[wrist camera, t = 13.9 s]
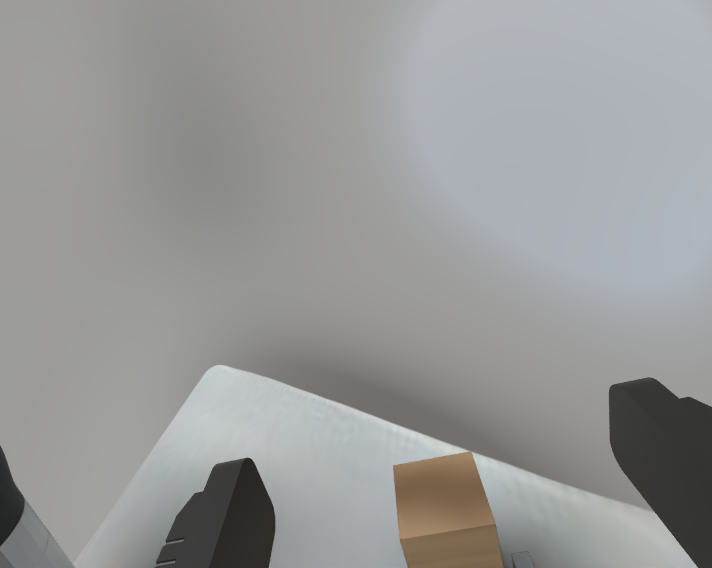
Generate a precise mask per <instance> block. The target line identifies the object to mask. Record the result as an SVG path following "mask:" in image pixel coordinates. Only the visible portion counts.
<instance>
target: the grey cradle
mask: <svg viewBox="0 0 712 568" xmlns="http://www.w3.org/2000/svg"><path fill="white" fill-rule="evenodd" d="M511 555H512V560H513V566H514V568H535V567H534V564H533V562H532V559H531V557H530V555H529V552H528V551H525V552H519V553H513V554H511Z"/></svg>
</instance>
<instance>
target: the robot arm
mask: <svg viewBox="0 0 712 568" xmlns="http://www.w3.org/2000/svg"><path fill="white" fill-rule="evenodd" d="M609 417H610V418H609V419H610V443H611V447H612V451H613V453H614V456H615V458H616V460H617V462H618V464H619V466H620V467H621V469H622V470H623V472H624V473H625V474H626V476H627V477H628V478H629V479H630V481H631V482H632V483H633V485H634V486H635V487H636V489H637V490H638V491H639V492H640V494H641V495H642V496H643V498H644V499H645V500H646V501H647V503H648V504H649V505H650V507H651V508H652V509H653V510H654V512H655V513H656V514H657V515H658V517H659V518H660V519H661V521H662V522H663V523H664V524H665V526H666V527H667V528H668V530H669V531H670V532H671V533H672V535H673V536H674V537H675V539H676V540H677V541H678V542H679V544H680V545H681V546H682V548H683V549H684V550H685V551H686V553H687V554H688V555H689V557H690V558H691V559H692V560H693V562H694V563H695V564H696V565H697V567H698V568H712V407H711V406H708V405H706V404H704V403H702V402H699V401H697V400H695V399H693V398H691V397H686V398H681V399H679V398H678V397H677V396H675V395H674V394H673V393H672V392H671V391H669V390H668V389H667V388H666V387H665V386H663V385H662V384H661V383H660V382H659V381H657V380H656V379H654V378H643V379H638V380H634V381H629V382H624V383H619V384H614V385H612V386H611V387H610V390H609ZM274 535H275V513H274V508H273V505H272V502H271V500H270V497H269V495H268V493H267V491H266V488H265V486H264V484H263V482H262V479H261V477H260V475H259V473H258V470H257V468H256V466H255V464H254V462H253V460H252V459H251V458H244V459H239V460H234V461H229V462H224V463H219V464H216V465H215V466H214V467H213V469H212V471H211V474H210V476H209V479H208V481H207V484H206V486H205V488H204V491H203V492H199V493H195V494H194V495H193V496H192V497H191V499H190V500H189V501H188V502H187V504H186V505H185V506H184V507H183V509H182V510H181V511H180V512H179V514H178V515H177V516H176V519H175V521H174V523H173V525H172V528H171V530H170V532H169V534H168V537H167V539H166V545H165V546H163V548H162V550H161V552H160V555H159V557H158V559H157V561H156V563H157V565H156V567H155V568H268V567H269V562H270V557H271V551H272V546H273V541H274ZM0 568H75V566H74V565H73V564H72V562H71V561H70V560H69V558H68V557H67V556H66V554H65V553H64V551H63V550H62V549H61V547H60V546H59V544H58V543H57V542H56V540H55V539H54V537H53V536H52V535H51V533H50V532H49V531H48V529H47V528H46V527H45V525H44V524H43V523H42V521H41V520H40V519H39V517H38V516H37V514H36V513H35V512H34V510H33V509H32V507H31V506H30V505H29V503H28V502H27V501H26V499H25V498H24V497H23V495H22V494H21V492H20V491H19V490H18V488H17V487H16V485H15V483H14V481H13V478H12V476H11V473H10V469H9V466H8V464H7V460H6V458H5V455H4V452H3V450H2V448H1V446H0Z"/></svg>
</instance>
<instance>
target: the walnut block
mask: <svg viewBox="0 0 712 568" xmlns="http://www.w3.org/2000/svg"><path fill="white" fill-rule="evenodd" d="M393 470H394V481H395V492H396V504H397V515H398V527H399V538H400V542H401V546H402V549H403V552H404V555H405V559H406V562H407V565H408V568H503V563H502V557H501V552H500V546H499V541H498V535H497V530H496V525H495V521H494V518H493V515H492V512H491V509H490V506H489V503H488V500H487V497H486V494H485V491H484V488H483V485H482V482H481V479H480V476H479V473H478V470H477V467H476V464H475V461H474V458H473V455H472V452H465V453H460V454H454V455H449V456H443V457H438V458H432V459H427V460H421V461H416V462H410V463H405V464H399V465H394V466H393Z"/></svg>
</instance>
